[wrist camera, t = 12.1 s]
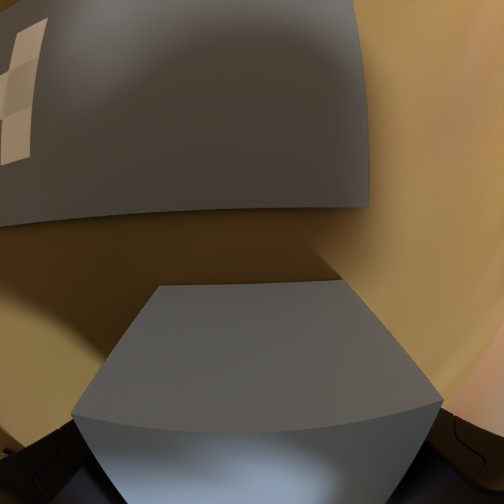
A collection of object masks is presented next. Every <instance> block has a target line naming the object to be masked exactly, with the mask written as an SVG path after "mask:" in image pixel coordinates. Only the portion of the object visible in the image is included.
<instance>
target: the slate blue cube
mask: <svg viewBox="0 0 504 504" xmlns="http://www.w3.org/2000/svg"><path fill="white" fill-rule="evenodd" d="M443 401H444V399H443V398H442V396H441V395H440V394H439V392H438V391H437V390H436V389H435V387H434V386H433V385H432V383H431V382H430V381H429V380H428V378H427V377H426V376H425V375H424V373H423V372H422V371H421V370H420V368H419V367H418V366H417V365H416V363H415V362H414V361H413V360H412V359H411V357H410V356H409V355H408V354H407V352H406V351H405V350H404V349H403V348H402V346H401V345H400V344H399V343H398V342H397V340H396V339H395V338H394V337H393V336H392V334H391V333H390V332H389V331H388V330H387V328H386V327H385V326H384V325H383V324H382V323H381V321H380V320H379V319H378V318H377V317H376V316H375V314H374V313H373V312H372V311H371V310H370V309H369V308H368V306H367V305H366V304H365V303H364V302H363V301H362V299H361V298H360V297H359V296H358V295H357V294H356V293H355V292H354V290H353V289H352V288H351V287H350V286H349V285H348V284H347V283H346V281H345V280H330V281H309V282H286V283H259V284H223V285H160V286H159V287H158V288H157V290H156V291H155V292H154V294H153V295H152V296H151V298H150V299H149V300H148V302H147V303H146V304H145V306H144V307H143V308H142V310H141V311H140V312H139V314H138V315H137V317H136V318H135V319H134V321H133V322H132V323H131V325H130V326H129V328H128V329H127V330H126V332H125V333H124V335H123V336H122V337H121V339H120V340H119V342H118V343H117V345H116V346H115V347H114V349H113V350H112V352H111V353H110V355H109V356H108V358H107V359H106V360H105V362H104V363H103V365H102V366H101V368H100V369H99V371H98V372H97V374H96V375H95V377H94V378H93V380H92V381H91V383H90V384H89V386H88V387H87V389H86V390H85V392H84V393H83V395H82V396H81V398H80V399H79V401H78V403H77V404H76V406H75V407H74V409H73V410H72V412H71V415H72V417H73V419H74V421H75V423H76V425H77V427H78V429H79V430H80V432H81V434H82V436H83V438H84V439H85V441H86V443H87V444H88V446H89V448H90V449H91V451H92V453H93V454H94V456H95V458H96V459H97V461H98V462H99V464H100V465H101V467H102V468H103V470H104V471H105V473H106V474H107V476H108V477H109V479H110V480H111V481H112V483H113V484H114V486H115V487H116V488H117V490H118V491H119V492H120V494H121V495H122V496H123V498H124V499H125V500H126V502H127V503H128V504H385V502H386V501H387V500H388V498H389V497H390V495H391V494H392V493H393V491H394V490H395V488H396V487H397V485H398V484H399V482H400V481H401V479H402V478H403V476H404V474H405V473H406V471H407V470H408V468H409V466H410V465H411V463H412V461H413V460H414V458H415V456H416V455H417V453H418V451H419V449H420V447H421V446H422V444H423V442H424V440H425V438H426V436H427V434H428V432H429V430H430V429H431V427H432V424H433V422H434V420H435V418H436V416H437V414H438V412H439V410H440V408H441V405H442V403H443Z"/></svg>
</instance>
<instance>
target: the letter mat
mask: <svg viewBox="0 0 504 504" xmlns="http://www.w3.org/2000/svg"><path fill="white" fill-rule="evenodd" d="M368 202H369V151H368V125H367V108H366V95H365V84H364V74H363V65H362V57H361V50H360V43H359V36H358V30H357V24H356V18H355V13H354V7H353V2H352V0H20V1H18V2H16V3H15V4H13V5H11V6H10V7H8V8H7V9H5V10H3V11H2V12H0V227H3V226H10V225H18V224H27V223H35V222H44V221H53V220H63V219H73V218H84V217H96V216H108V215H121V214H135V213H150V212H167V211H186V210H208V209H236V208H283V207H352V208H368Z"/></svg>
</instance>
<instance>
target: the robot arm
mask: <svg viewBox="0 0 504 504" xmlns="http://www.w3.org/2000/svg"><path fill="white" fill-rule="evenodd" d="M2 455H3V456H4V458H2V459H0V504H128V503H127V502H126V500H125V499H124V498H123V496H122V495H121V494H120V492H119V491H118V490H117V488H116V487H115V486H114V484H113V483H112V481H111V480H110V479H109V477H108V476H107V474H106V473H105V471H104V470H103V468H102V467H101V465H100V464H99V462H98V461H97V459H96V458H95V456H94V454H93V453H92V451H91V449H90V448H89V446H88V444H87V443H86V441H85V439H84V438H83V436H82V434H81V432H80V430H79V429H78V427H77V425H76V423H75V421H74V419H72V420H70V421H69V422H67V423H66V424H64V425H63V426H61V427H60V430H59V429H56V430H55V431H53V432H52V433H50V434H48V435H47V436H45V437H43V438H42V439H40V440H38V441H37V442H35V443H33V444H31V445H29V446H27V447H25V448H23V449H21V450H19V451H17V452H15V453H12V452H10V451H8V450H6V449H4V450H3V451H2ZM385 504H504V437H502V436H499V435H496V434H494V433H491V432H489V431H487V430H484V429H482V428H479V427H477V426H475V425H473V424H471V423H469V422H467V421H465V420H463V419H461V418H460V417H458V416H454V415H453V414H452V413H450V412H448V411H446V410H445V409H443V408H440V410H439V412H438V414H437V416H436V418H435V420H434V422H433V424H432V427H431V429H430V430H429V432H428V434H427V436H426V438H425V440H424V442H423V444H422V446H421V447H420V449H419V451H418V453H417V455H416V456H415V458H414V460H413V461H412V463H411V465H410V466H409V468H408V470H407V471H406V473H405V474H404V476H403V478H402V479H401V481H400V482H399V484H398V485H397V487H396V488H395V490H394V491H393V493H392V494H391V495H390V497H389V498H388V500H387V501H386V502H385Z"/></svg>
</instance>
